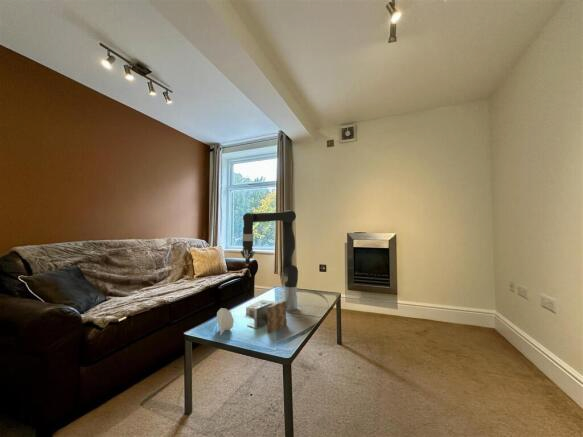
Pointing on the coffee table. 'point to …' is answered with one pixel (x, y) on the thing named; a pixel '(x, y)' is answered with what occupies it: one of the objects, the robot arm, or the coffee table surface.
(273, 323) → the end panel
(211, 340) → the coffee table surface
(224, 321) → the white faceted rounded block
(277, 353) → the coffee table surface
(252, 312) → the shelf rail
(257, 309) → the bookend
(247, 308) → the skincare box
